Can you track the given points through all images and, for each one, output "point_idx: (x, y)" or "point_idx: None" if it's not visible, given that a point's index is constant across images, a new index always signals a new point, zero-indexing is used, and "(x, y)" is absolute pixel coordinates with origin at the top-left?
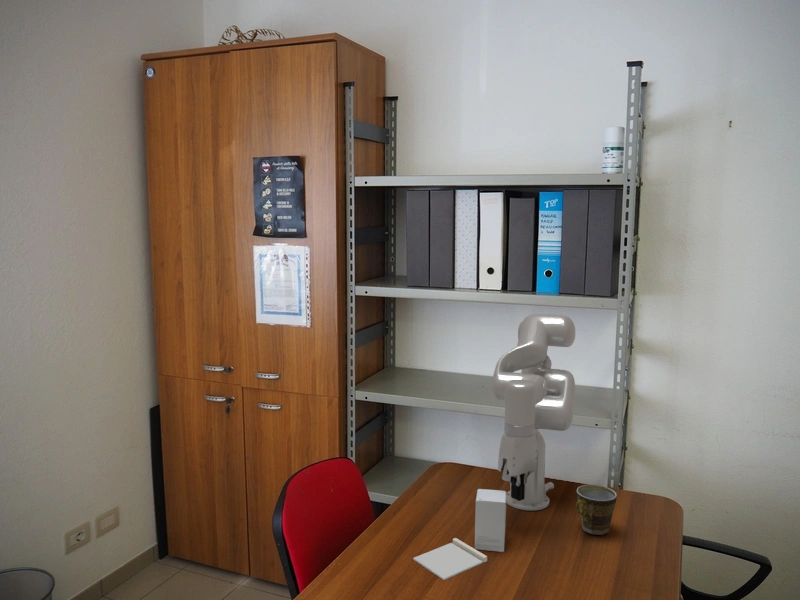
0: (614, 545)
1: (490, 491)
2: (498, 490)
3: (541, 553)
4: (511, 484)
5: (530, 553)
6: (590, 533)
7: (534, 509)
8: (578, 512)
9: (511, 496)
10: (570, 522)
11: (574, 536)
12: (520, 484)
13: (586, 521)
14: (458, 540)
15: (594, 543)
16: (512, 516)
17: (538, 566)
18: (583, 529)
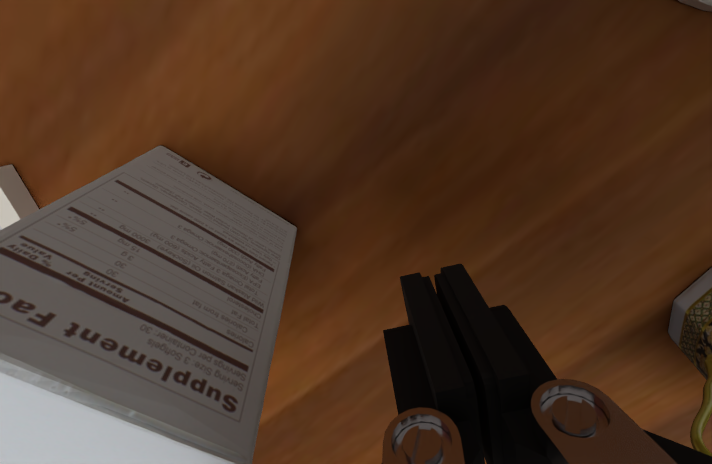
0: (651, 413)
1: (34, 444)
2: (162, 441)
3: (372, 374)
4: (428, 372)
5: (331, 362)
6: (668, 330)
7: (692, 3)
8: (692, 426)
9: (401, 282)
10: (703, 219)
11: (594, 323)
12: (502, 460)
13: (704, 359)
14: (2, 203)
15: (607, 384)
16: (502, 13)
17: (305, 429)
18: (676, 302)
